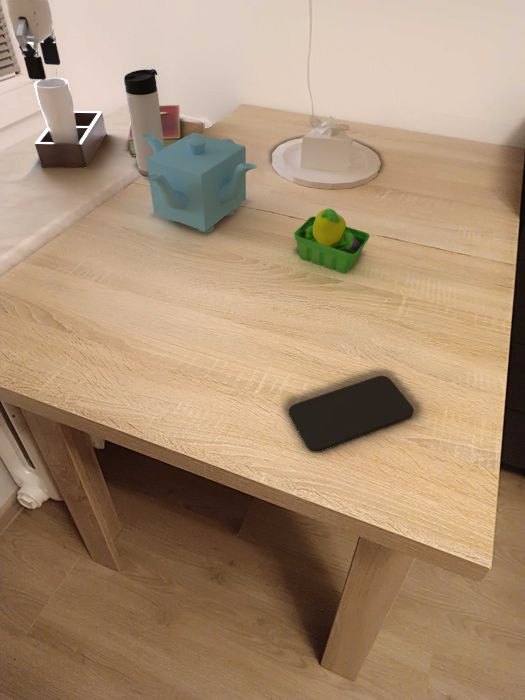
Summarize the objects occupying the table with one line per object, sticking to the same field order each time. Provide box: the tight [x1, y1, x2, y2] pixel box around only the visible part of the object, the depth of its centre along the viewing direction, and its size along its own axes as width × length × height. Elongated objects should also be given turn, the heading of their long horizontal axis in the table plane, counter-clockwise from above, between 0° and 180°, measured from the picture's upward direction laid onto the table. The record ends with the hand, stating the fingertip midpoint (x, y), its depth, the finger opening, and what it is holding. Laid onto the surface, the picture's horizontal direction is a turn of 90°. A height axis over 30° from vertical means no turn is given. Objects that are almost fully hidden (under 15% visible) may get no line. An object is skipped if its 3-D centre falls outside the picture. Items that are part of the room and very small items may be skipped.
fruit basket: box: [293, 208, 370, 275], centre depth 84 cm, size 11×9×11 cm
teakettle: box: [142, 131, 258, 233], centre depth 93 cm, size 19×19×15 cm
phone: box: [288, 375, 415, 452], centre depth 64 cm, size 7×1×15 cm
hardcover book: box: [127, 104, 182, 156], centre depth 123 cm, size 12×21×4 cm, turn 7°
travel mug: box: [123, 68, 164, 177], centre depth 105 cm, size 6×7×20 cm
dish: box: [271, 115, 382, 190], centre depth 112 cm, size 25×25×11 cm
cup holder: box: [34, 110, 107, 169], centre depth 117 cm, size 10×19×5 cm, turn 0°
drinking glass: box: [34, 77, 79, 143], centre depth 109 cm, size 7×7×15 cm
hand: (45, 71), depth 103 cm, fingers open, 9 cm apart
